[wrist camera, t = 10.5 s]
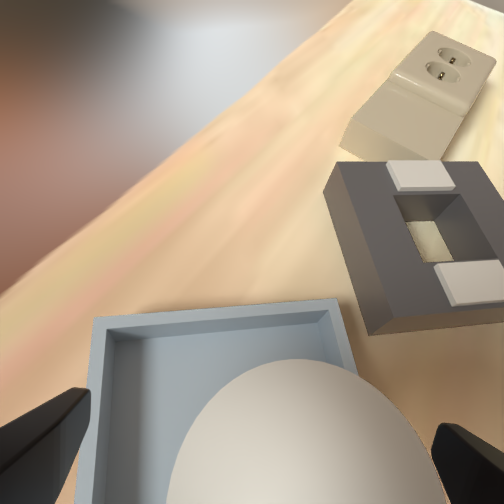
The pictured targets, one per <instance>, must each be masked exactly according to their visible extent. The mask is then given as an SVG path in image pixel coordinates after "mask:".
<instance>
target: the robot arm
mask: <svg viewBox="0 0 504 504" xmlns="http://www.w3.org/2000/svg"><path fill="white" fill-rule="evenodd" d="M90 415H91V391H90V390H89V389H87V388H77V387H74V388H71V389H69V390H67V391H65V392H63V393H62V394H60V395H58V396H56V397H54V398H53V399H51V400H49V401H47V402H45V403H44V404H42V405H40V406H38V407H36V408H35V409H33V410H31V411H29V412H27V413H26V414H24V415H22V416H20V417H18V418H17V419H15V420H13V421H11V422H9V423H8V424H6V425H4V426H2V427H0V504H55V502H56V500H57V498H58V496H59V494H60V492H61V490H62V487H63V485H64V483H65V481H66V478H67V476H68V473H69V471H70V469H71V466H72V464H73V462H74V459H75V457H76V455H77V452H78V450H79V448H80V445H81V443H82V441H83V438H84V436H85V434H86V431H87V429H88V426H89V423H90ZM431 455H432V459H433V462H434V464H435V466H436V469H437V471H438V474H439V476H440V478H441V481H442V483H443V486H444V488H445V490H446V493H447V495H448V498H449V500H450V502H451V504H504V453H503V452H501V451H500V450H498V449H496V448H495V447H493V446H492V445H490V444H488V443H487V442H485V441H484V440H482V439H480V438H479V437H477V436H475V435H474V434H472V433H471V432H469V431H467V430H466V429H464V428H463V427H461V426H459V425H457V424H451V423H441V424H440V425H439V426H438V428H437V431H436V435H435V438H434V441H433V444H432V448H431Z"/></svg>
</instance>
